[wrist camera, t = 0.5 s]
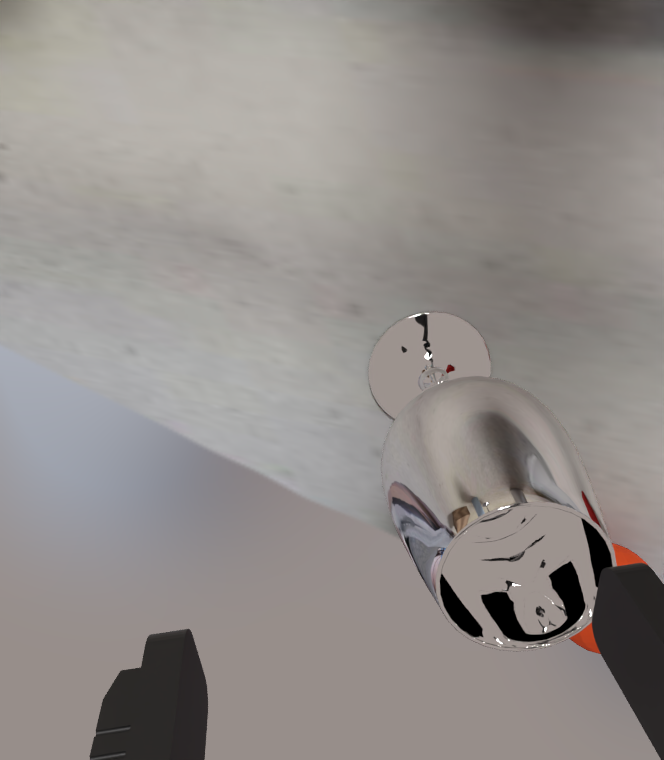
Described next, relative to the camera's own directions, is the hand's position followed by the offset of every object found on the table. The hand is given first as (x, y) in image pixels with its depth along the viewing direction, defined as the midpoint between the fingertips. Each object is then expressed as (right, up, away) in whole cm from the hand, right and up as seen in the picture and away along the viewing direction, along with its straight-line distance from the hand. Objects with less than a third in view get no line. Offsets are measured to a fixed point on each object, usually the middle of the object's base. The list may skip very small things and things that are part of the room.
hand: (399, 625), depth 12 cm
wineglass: (+5, +5, +26) cm, 27 cm away
